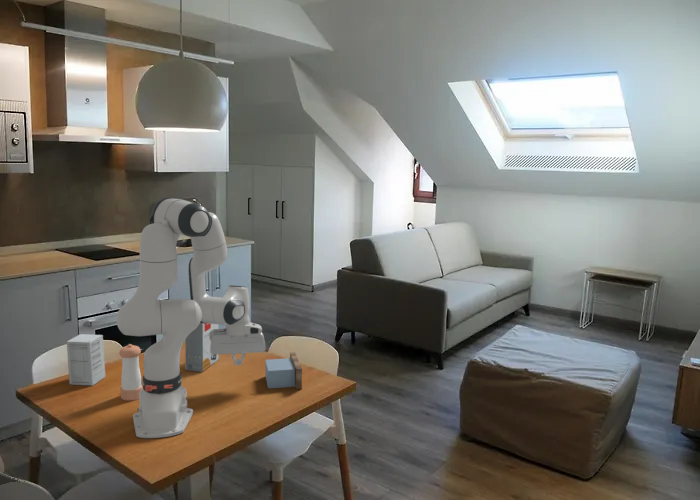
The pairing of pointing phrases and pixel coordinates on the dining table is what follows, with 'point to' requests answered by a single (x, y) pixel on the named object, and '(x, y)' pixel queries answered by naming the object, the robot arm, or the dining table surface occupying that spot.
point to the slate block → (280, 373)
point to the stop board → (297, 370)
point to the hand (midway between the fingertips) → (238, 364)
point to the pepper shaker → (130, 372)
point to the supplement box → (86, 359)
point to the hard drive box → (199, 348)
